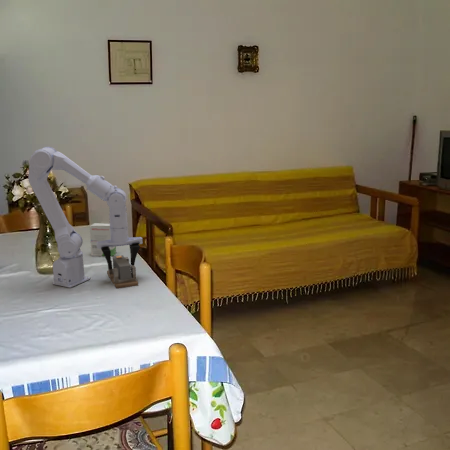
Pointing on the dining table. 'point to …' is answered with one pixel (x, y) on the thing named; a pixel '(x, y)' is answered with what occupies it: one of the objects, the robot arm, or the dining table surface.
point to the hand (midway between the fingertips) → (121, 267)
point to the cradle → (122, 283)
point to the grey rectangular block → (122, 267)
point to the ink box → (100, 238)
